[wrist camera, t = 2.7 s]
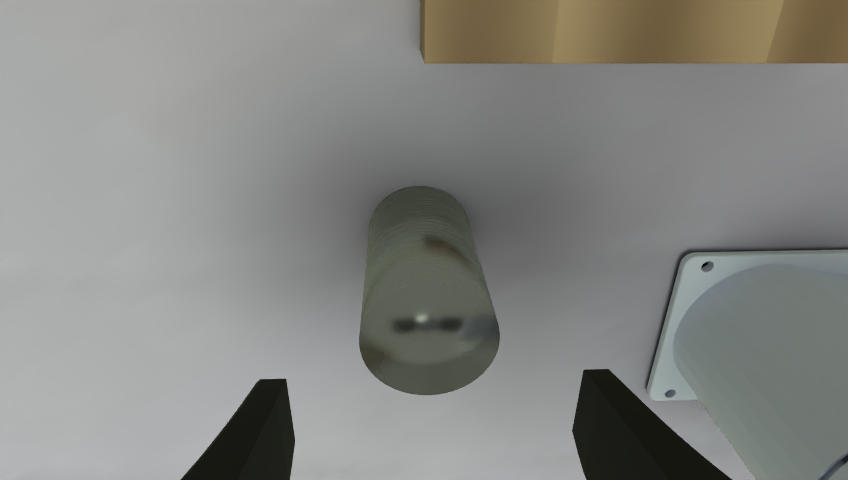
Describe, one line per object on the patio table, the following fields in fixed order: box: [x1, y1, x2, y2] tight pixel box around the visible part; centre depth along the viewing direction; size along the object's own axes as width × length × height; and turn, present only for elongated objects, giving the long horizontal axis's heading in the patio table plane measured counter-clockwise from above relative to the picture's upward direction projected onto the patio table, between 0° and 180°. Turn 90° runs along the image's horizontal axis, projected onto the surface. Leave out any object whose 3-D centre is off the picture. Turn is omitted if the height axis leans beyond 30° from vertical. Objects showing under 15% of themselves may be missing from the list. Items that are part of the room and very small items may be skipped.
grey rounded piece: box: [359, 186, 500, 395], centre depth 18 cm, size 4×4×7 cm
